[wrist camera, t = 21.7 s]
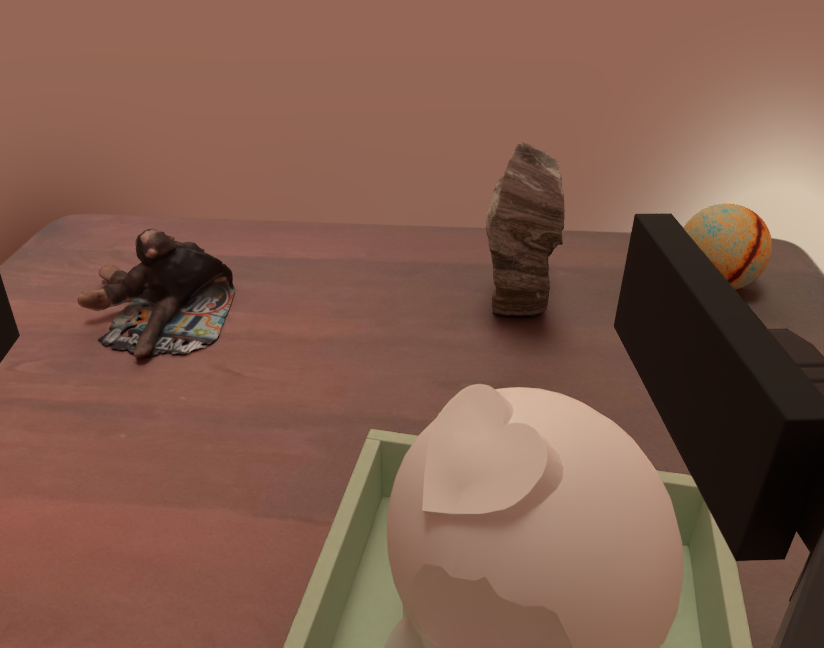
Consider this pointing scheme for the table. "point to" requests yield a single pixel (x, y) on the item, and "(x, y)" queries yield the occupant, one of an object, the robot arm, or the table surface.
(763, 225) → the ball
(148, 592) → the table surface
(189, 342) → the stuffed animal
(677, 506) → the tote
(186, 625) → the table surface
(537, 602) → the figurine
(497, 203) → the rock
